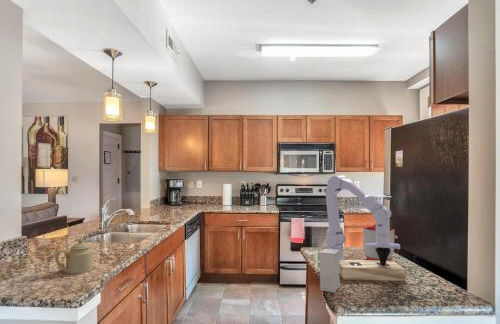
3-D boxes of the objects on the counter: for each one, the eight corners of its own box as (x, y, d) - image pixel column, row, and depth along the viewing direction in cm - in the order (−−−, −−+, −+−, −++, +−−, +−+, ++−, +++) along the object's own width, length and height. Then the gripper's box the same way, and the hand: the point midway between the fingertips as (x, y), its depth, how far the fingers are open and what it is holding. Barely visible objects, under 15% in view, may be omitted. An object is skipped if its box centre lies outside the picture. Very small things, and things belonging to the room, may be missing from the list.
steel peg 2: (376, 273, 142) (376, 263, 142) (385, 273, 142) (385, 263, 142) (380, 276, 138) (379, 266, 138) (389, 276, 138) (389, 266, 138)
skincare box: (334, 293, 120) (334, 254, 120) (319, 290, 123) (319, 252, 123) (340, 286, 127) (340, 249, 127) (325, 283, 130) (325, 247, 130)
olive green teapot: (75, 278, 135) (75, 242, 136) (53, 276, 137) (53, 241, 138) (98, 267, 150) (98, 235, 150) (78, 266, 152) (78, 234, 152)
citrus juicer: (404, 265, 156) (403, 224, 157) (368, 264, 156) (368, 224, 157) (390, 256, 172) (390, 219, 172) (358, 256, 172) (358, 219, 172)
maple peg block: (336, 270, 147) (336, 259, 147) (392, 271, 146) (392, 260, 146) (343, 279, 135) (343, 268, 135) (405, 280, 134) (404, 268, 134)
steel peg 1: (349, 273, 143) (349, 262, 143) (358, 273, 142) (358, 263, 143) (352, 276, 139) (352, 265, 139) (361, 276, 138) (361, 265, 139)
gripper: (369, 235, 137) (369, 267, 137) (403, 236, 136) (403, 267, 136) (363, 232, 144) (364, 262, 144) (396, 232, 144) (396, 263, 143)
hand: (382, 264), depth 140 cm, fingers closed, pressing on steel peg 2
